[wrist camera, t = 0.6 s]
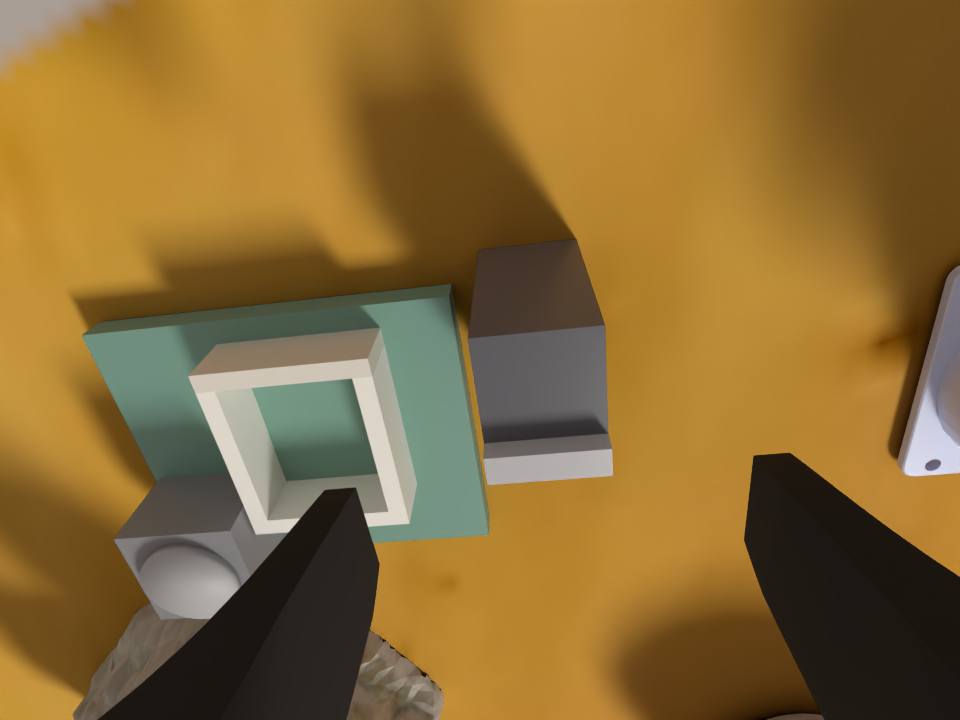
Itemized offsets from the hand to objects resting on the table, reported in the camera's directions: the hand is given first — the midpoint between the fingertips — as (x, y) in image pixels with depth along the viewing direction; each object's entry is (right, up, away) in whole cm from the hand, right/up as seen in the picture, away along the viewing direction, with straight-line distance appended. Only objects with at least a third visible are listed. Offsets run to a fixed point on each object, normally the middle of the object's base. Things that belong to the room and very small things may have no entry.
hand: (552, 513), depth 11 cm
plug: (0, +5, +8) cm, 9 cm away
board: (-8, 0, +11) cm, 13 cm away
